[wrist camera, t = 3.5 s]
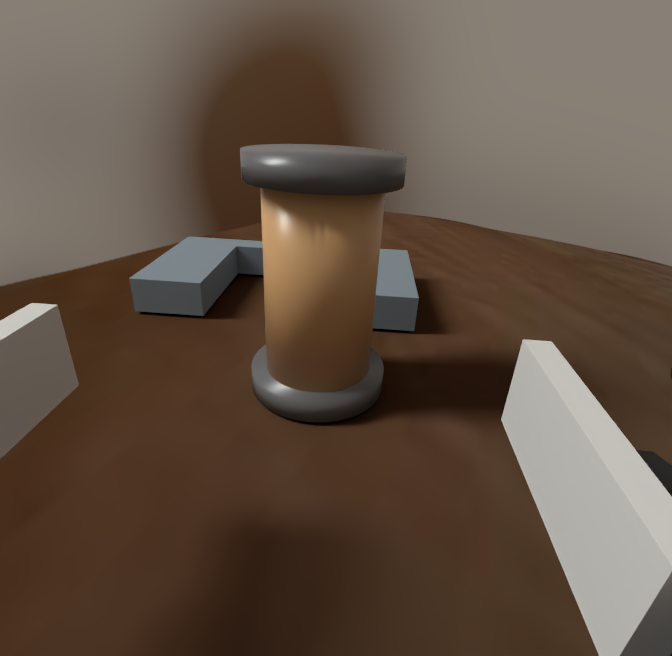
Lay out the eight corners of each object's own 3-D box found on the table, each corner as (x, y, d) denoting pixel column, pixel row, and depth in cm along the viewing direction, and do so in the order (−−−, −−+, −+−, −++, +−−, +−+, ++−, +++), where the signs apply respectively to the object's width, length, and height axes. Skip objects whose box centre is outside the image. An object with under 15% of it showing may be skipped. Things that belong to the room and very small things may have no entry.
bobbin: (380, 353, 27) (401, 148, 22) (383, 428, 21) (414, 165, 16) (268, 345, 28) (261, 141, 22) (236, 415, 21) (217, 155, 16)
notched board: (403, 276, 40) (407, 250, 39) (414, 331, 30) (418, 298, 29) (191, 262, 41) (188, 236, 40) (135, 311, 31) (129, 278, 30)
